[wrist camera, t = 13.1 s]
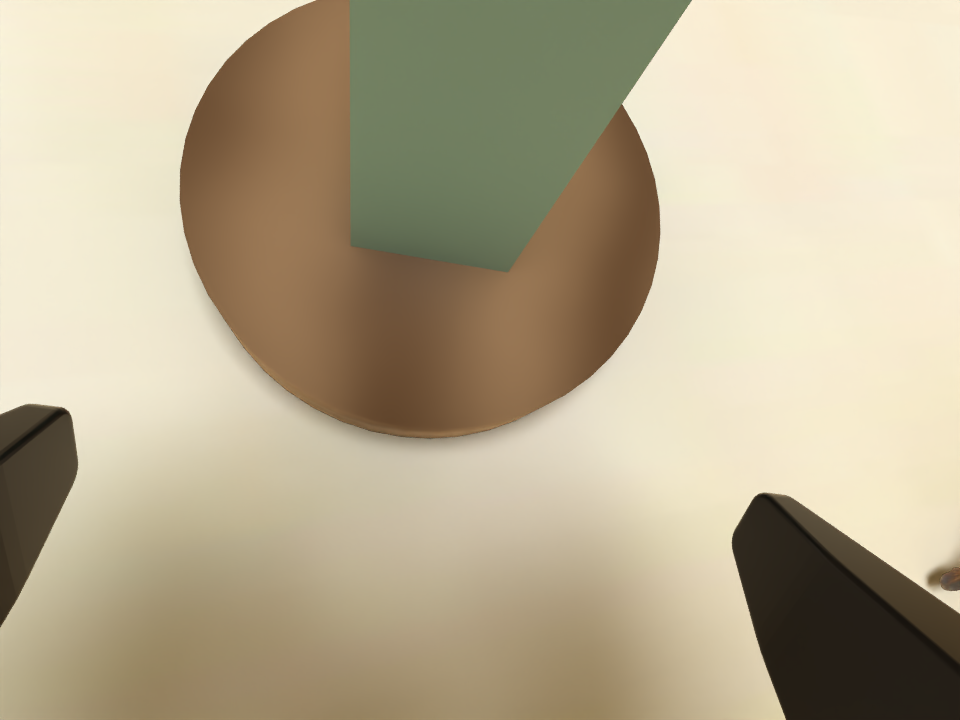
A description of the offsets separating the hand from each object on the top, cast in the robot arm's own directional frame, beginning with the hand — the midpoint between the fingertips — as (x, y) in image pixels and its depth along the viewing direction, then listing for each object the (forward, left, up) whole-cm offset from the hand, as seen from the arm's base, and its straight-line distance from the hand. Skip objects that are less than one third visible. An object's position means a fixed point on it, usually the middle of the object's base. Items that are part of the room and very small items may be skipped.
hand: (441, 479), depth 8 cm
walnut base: (0, -9, -10) cm, 14 cm away
